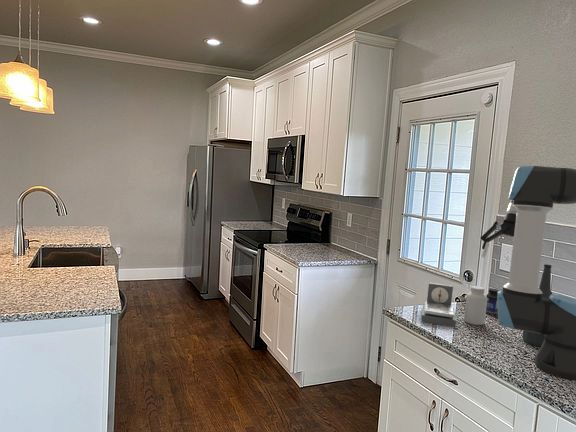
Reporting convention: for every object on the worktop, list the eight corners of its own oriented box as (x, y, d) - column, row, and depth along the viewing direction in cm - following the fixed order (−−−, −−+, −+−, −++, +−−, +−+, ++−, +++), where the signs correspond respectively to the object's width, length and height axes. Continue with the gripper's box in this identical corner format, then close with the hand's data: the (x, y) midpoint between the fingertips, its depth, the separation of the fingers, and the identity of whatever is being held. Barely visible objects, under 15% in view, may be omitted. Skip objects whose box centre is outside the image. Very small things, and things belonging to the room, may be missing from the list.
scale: (455, 327, 175) (458, 296, 174) (421, 322, 179) (424, 291, 178) (453, 315, 192) (456, 286, 191) (422, 310, 196) (425, 281, 195)
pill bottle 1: (459, 319, 186) (463, 285, 185) (475, 318, 189) (479, 284, 187) (472, 326, 179) (476, 290, 177) (488, 325, 181) (492, 290, 180)
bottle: (550, 341, 167) (561, 264, 164) (555, 350, 158) (567, 269, 155) (520, 336, 170) (530, 260, 168) (523, 344, 161) (534, 264, 159)
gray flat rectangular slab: (453, 317, 175) (453, 314, 175) (424, 313, 179) (425, 310, 179) (452, 308, 189) (452, 305, 188) (425, 304, 192) (425, 301, 192)
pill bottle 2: (481, 311, 200) (484, 288, 199) (490, 310, 203) (492, 287, 202) (493, 316, 195) (496, 292, 194) (502, 314, 198) (505, 291, 197)
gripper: (548, 225, 183) (532, 272, 181) (487, 211, 198) (471, 255, 196) (547, 220, 177) (530, 269, 175) (484, 206, 192) (468, 251, 190)
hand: (499, 261), depth 186 cm, fingers open, 13 cm apart
